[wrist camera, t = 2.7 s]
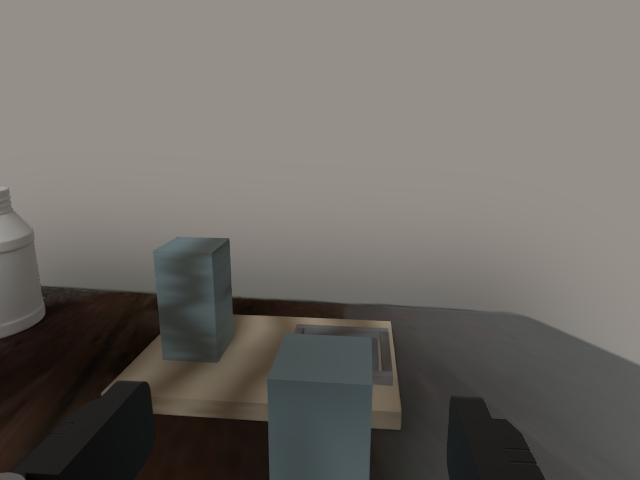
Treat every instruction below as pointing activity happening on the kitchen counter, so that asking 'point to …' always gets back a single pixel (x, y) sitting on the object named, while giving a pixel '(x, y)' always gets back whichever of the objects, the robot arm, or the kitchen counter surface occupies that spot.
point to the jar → (17, 272)
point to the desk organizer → (234, 342)
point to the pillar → (320, 408)
